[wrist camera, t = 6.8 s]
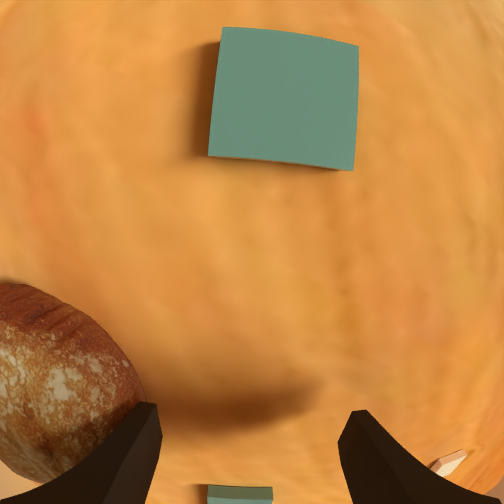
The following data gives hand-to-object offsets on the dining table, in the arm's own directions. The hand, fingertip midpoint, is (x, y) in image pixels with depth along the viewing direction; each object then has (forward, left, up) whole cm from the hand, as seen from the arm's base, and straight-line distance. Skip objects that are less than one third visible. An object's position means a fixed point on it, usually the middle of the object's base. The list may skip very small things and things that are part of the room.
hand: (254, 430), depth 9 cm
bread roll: (-1, +10, -2) cm, 10 cm away
